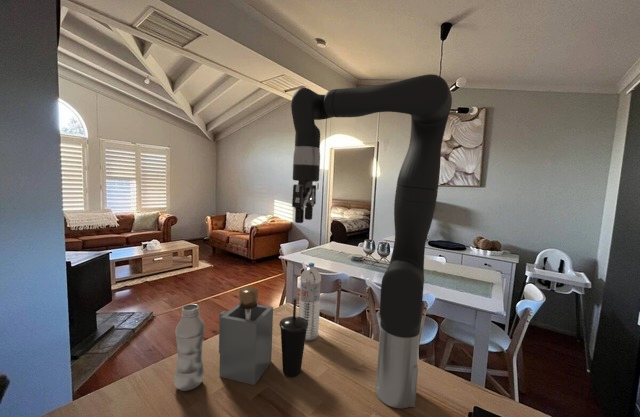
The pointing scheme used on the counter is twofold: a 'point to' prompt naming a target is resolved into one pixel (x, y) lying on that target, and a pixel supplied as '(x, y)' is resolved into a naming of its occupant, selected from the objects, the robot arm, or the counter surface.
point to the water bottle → (310, 300)
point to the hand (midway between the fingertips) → (304, 221)
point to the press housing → (245, 343)
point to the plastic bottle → (189, 349)
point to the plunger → (248, 300)
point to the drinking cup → (293, 343)
